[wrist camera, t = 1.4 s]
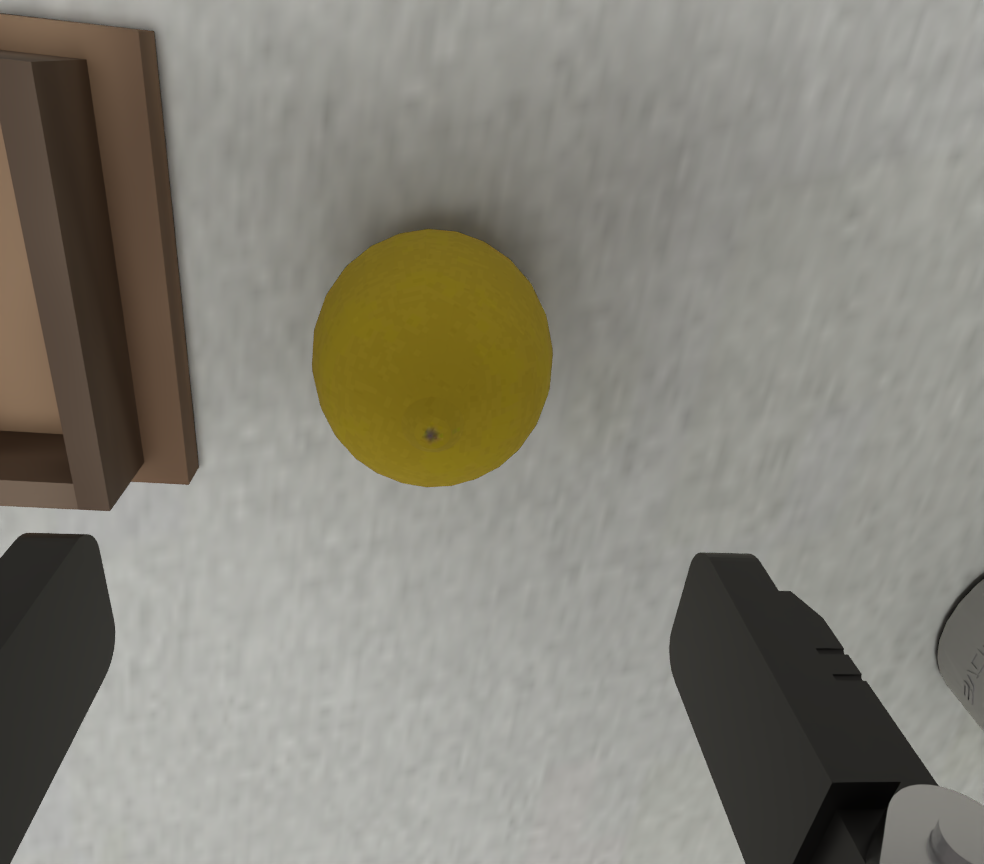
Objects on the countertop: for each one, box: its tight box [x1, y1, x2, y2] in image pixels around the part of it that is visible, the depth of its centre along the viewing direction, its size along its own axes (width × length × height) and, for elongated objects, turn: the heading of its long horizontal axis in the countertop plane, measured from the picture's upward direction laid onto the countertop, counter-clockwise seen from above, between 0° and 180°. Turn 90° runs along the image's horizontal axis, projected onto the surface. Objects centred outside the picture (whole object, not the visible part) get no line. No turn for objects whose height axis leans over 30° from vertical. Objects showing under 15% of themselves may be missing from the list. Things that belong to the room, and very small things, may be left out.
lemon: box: [312, 229, 553, 487], centre depth 17 cm, size 6×6×8 cm
